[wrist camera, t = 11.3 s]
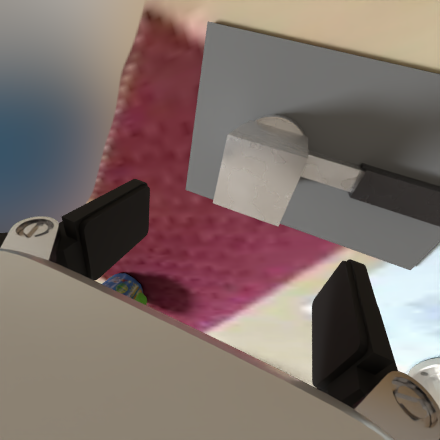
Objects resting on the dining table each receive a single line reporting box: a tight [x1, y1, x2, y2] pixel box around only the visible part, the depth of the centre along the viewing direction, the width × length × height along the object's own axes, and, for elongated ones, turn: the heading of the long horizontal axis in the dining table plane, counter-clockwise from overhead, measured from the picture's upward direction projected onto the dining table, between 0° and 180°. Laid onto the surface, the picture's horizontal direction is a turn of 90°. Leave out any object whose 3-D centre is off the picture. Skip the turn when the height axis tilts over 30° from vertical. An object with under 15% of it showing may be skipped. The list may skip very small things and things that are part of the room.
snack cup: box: [102, 273, 147, 305], centre depth 43 cm, size 16×10×10 cm
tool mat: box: [186, 22, 440, 270], centre depth 23 cm, size 28×17×1 cm, turn 78°
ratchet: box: [255, 114, 440, 227], centre depth 20 cm, size 21×7×7 cm, turn 78°
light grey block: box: [213, 120, 308, 226], centre depth 19 cm, size 5×5×7 cm
